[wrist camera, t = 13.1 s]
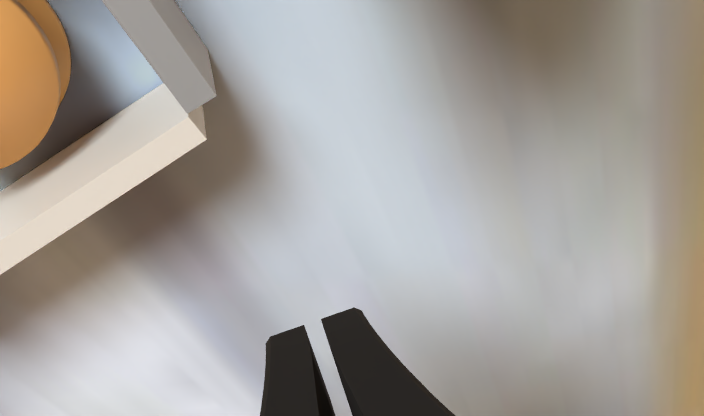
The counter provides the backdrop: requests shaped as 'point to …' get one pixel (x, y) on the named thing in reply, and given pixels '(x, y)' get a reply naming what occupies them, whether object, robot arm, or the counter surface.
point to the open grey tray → (168, 47)
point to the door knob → (30, 75)
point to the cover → (95, 172)
